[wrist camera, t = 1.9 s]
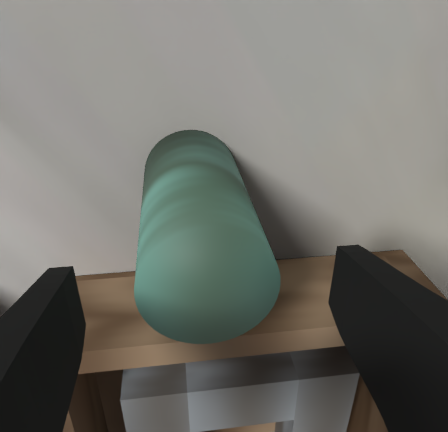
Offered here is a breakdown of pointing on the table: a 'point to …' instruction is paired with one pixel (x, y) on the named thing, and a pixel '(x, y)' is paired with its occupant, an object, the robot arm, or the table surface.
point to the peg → (201, 244)
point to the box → (224, 364)
